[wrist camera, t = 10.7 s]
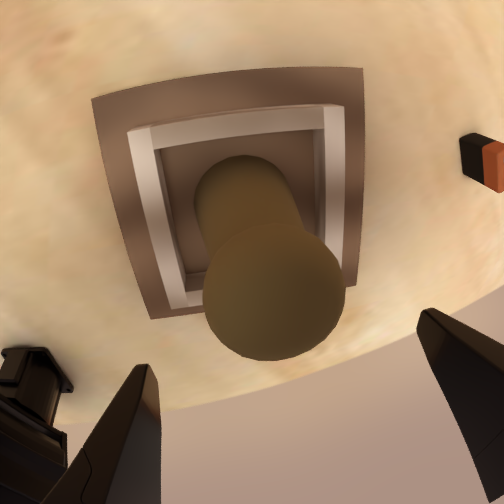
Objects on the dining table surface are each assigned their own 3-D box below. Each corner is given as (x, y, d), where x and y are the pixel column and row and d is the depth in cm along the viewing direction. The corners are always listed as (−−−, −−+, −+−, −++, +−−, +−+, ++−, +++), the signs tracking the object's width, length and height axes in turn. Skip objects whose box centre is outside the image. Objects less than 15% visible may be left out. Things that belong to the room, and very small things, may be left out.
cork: (211, 141, 17) (225, 219, 8) (305, 173, 19) (401, 270, 10) (181, 232, 20) (173, 372, 11) (269, 255, 22) (319, 388, 12)
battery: (462, 175, 22) (502, 197, 18) (458, 137, 20) (502, 155, 16) (478, 167, 22) (518, 188, 18) (474, 131, 20) (517, 147, 16)
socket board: (351, 278, 25) (366, 300, 23) (152, 311, 24) (148, 337, 21) (355, 68, 17) (378, 68, 14) (96, 97, 16) (79, 101, 13)
